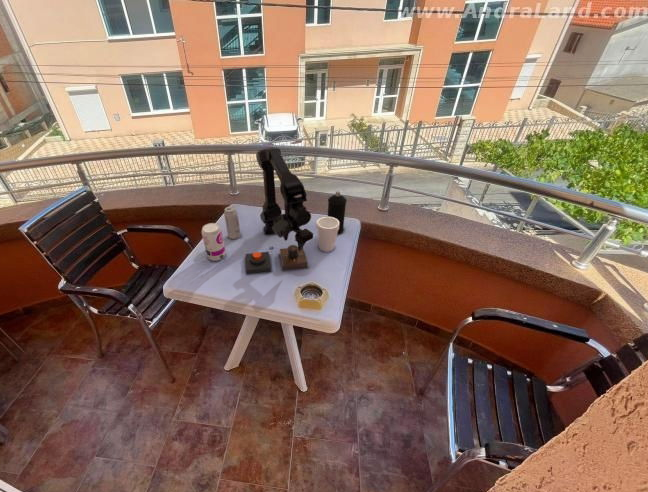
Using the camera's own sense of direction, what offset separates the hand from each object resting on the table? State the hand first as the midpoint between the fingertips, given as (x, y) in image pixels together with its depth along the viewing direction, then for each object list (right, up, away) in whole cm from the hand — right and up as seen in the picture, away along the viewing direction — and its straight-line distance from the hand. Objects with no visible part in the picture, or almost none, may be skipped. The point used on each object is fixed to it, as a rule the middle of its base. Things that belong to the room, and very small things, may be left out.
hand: (292, 245), depth 131 cm
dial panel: (0, -6, +5) cm, 8 cm away
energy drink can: (-27, +6, +22) cm, 35 cm away
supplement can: (-33, -4, +11) cm, 35 cm away
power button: (-15, -5, +2) cm, 16 cm away
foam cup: (+16, 0, +11) cm, 19 cm away
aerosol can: (+21, +9, +21) cm, 32 cm away
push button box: (-14, -8, +5) cm, 17 cm away
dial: (0, -4, +3) cm, 5 cm away
